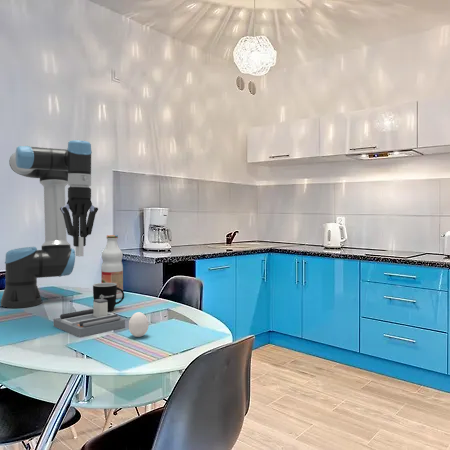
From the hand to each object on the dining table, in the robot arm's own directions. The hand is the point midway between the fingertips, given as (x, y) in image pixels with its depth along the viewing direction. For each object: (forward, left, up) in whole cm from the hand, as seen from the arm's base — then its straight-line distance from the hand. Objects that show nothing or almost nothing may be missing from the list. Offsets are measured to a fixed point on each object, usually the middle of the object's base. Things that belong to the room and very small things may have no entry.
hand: (79, 255), depth 145 cm
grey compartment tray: (+6, 0, -23) cm, 24 cm away
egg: (+27, +5, -24) cm, 36 cm away
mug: (-11, +18, -24) cm, 32 cm away
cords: (+6, 0, -21) cm, 22 cm away
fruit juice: (-31, +32, -24) cm, 51 cm away
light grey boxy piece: (+6, +4, -21) cm, 22 cm away
